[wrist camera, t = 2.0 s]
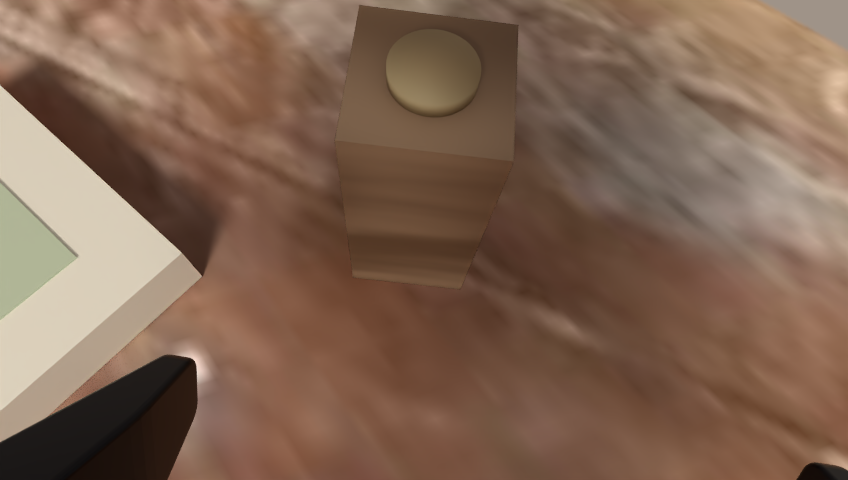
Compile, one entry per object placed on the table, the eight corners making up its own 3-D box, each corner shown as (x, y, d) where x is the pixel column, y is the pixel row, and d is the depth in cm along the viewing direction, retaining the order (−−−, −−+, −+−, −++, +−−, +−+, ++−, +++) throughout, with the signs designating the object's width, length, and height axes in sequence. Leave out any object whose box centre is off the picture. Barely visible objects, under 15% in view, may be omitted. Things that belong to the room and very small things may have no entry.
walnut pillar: (460, 289, 23) (518, 150, 13) (353, 277, 23) (333, 128, 13) (466, 194, 25) (522, 11, 15) (367, 183, 25) (358, -10, 15)
